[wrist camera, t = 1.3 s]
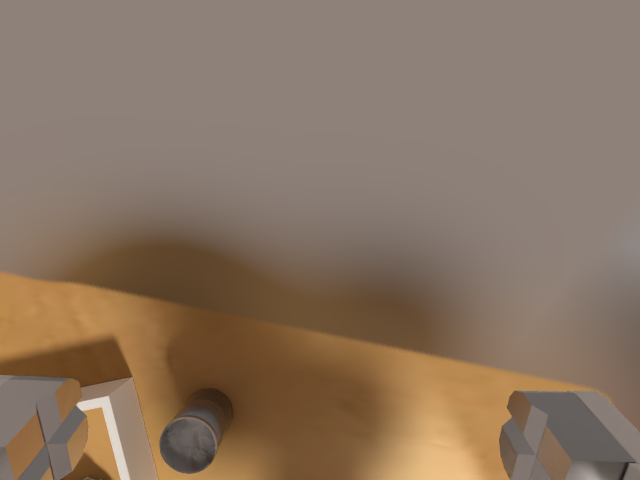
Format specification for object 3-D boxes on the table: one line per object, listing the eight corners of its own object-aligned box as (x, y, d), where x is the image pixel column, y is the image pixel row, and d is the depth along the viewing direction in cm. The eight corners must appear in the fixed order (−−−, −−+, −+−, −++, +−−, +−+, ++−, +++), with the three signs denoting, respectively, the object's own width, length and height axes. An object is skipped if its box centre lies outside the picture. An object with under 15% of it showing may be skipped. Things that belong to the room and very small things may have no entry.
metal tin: (238, 429, 47) (222, 467, 40) (191, 439, 47) (167, 478, 40) (227, 383, 47) (208, 412, 40) (180, 393, 47) (153, 424, 40)
